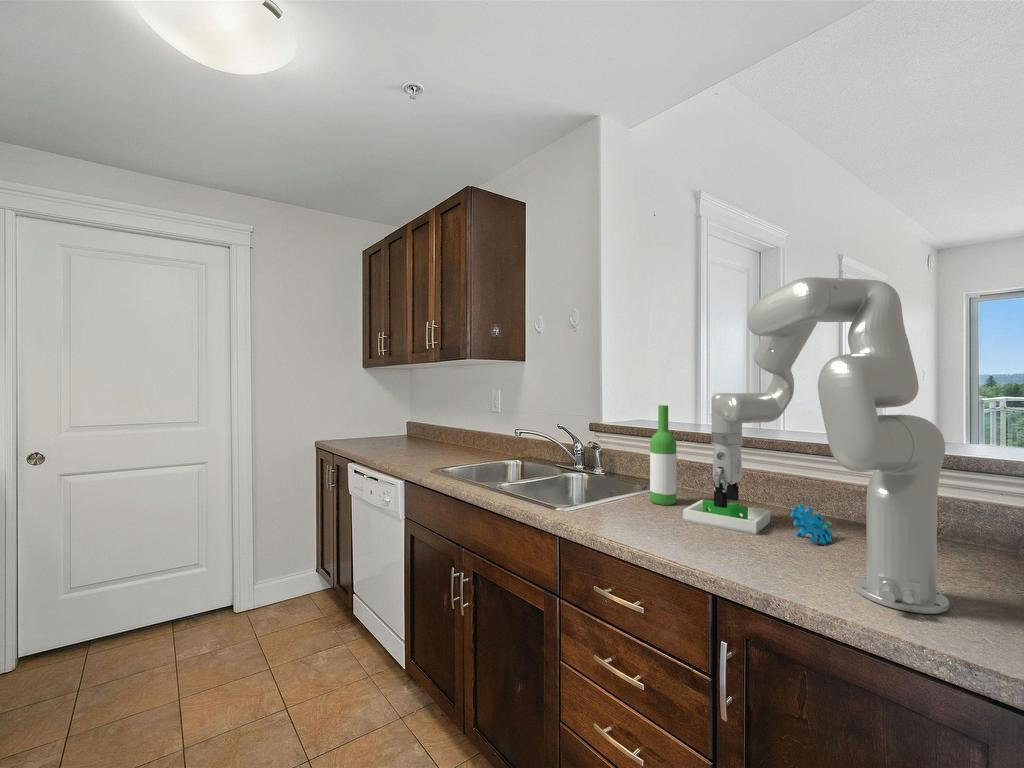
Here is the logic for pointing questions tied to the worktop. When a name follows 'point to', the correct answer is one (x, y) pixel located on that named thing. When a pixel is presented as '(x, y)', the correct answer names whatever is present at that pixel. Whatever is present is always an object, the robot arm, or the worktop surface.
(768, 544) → the worktop surface
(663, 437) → the wine bottle
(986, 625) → the worktop surface
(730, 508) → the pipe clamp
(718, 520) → the tray
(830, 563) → the worktop surface
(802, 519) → the blue lumpy piece
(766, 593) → the worktop surface
